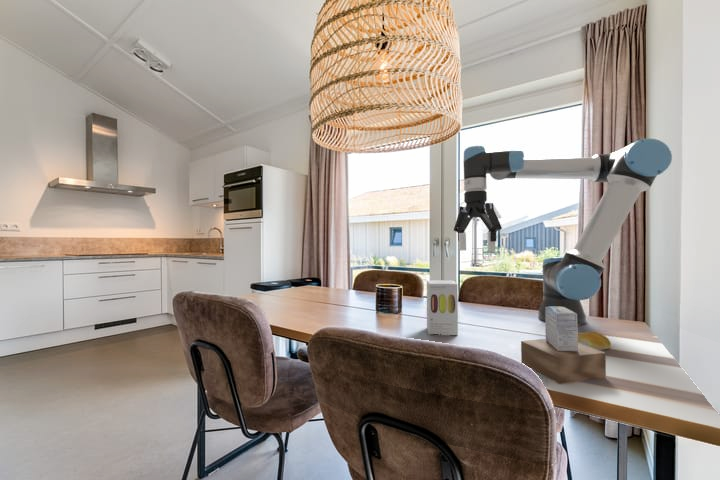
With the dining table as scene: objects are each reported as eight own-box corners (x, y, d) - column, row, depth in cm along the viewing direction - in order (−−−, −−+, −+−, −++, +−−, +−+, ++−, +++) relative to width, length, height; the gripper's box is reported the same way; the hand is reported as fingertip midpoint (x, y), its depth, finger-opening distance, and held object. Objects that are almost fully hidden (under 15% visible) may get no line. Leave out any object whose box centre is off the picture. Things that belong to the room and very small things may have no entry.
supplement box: (428, 335, 109) (427, 283, 109) (426, 327, 118) (425, 279, 118) (458, 336, 108) (458, 283, 107) (454, 328, 117) (453, 279, 117)
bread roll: (616, 348, 94) (616, 333, 94) (596, 353, 90) (596, 338, 90) (585, 340, 102) (585, 326, 102) (566, 344, 98) (566, 330, 98)
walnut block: (562, 360, 86) (562, 337, 86) (605, 379, 74) (605, 352, 74) (521, 365, 84) (521, 341, 84) (559, 385, 72) (559, 357, 72)
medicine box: (578, 352, 75) (578, 313, 75) (556, 351, 76) (556, 313, 76) (565, 341, 83) (564, 306, 82) (545, 340, 83) (544, 305, 83)
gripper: (443, 195, 129) (444, 250, 129) (495, 185, 107) (497, 252, 107) (458, 195, 132) (459, 249, 133) (512, 186, 110) (513, 251, 110)
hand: (476, 251), depth 120 cm, fingers open, 13 cm apart
